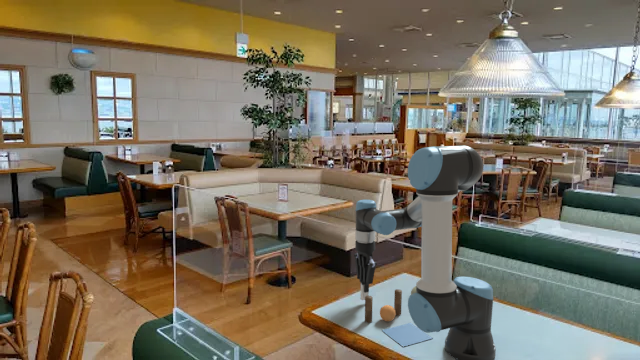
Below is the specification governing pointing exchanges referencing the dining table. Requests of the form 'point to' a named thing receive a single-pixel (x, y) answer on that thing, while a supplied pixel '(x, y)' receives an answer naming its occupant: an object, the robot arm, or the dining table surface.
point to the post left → (368, 309)
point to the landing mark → (407, 334)
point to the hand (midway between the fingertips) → (364, 298)
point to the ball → (387, 313)
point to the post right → (398, 301)
